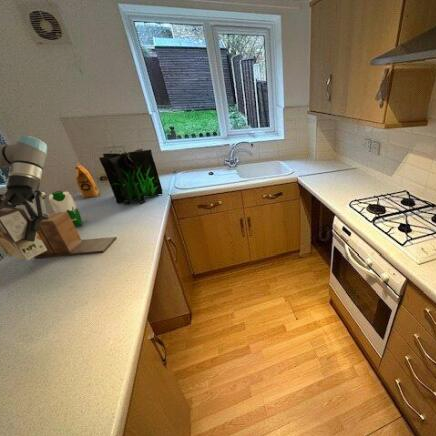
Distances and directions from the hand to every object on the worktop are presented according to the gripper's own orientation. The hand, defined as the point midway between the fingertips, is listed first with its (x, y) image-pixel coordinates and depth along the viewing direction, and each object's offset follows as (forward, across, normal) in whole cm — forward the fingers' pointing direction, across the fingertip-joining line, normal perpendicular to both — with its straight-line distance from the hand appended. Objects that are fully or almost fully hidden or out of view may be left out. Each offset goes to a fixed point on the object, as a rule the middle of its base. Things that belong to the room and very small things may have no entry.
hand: (9, 242), depth 76 cm
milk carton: (-23, +23, -56) cm, 65 cm away
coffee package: (-57, +40, -90) cm, 114 cm away
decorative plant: (-51, +3, -83) cm, 97 cm away
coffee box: (+3, 0, -7) cm, 7 cm away
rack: (-6, +6, -38) cm, 38 cm away
